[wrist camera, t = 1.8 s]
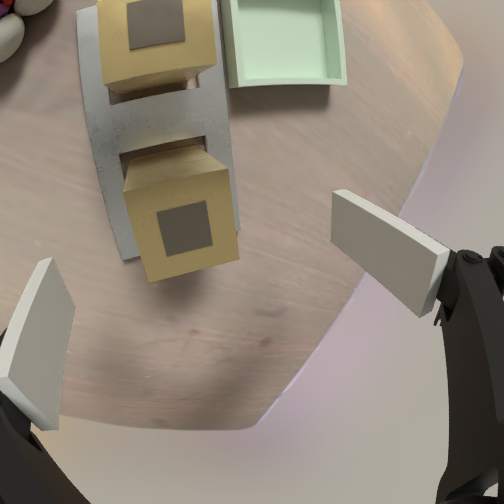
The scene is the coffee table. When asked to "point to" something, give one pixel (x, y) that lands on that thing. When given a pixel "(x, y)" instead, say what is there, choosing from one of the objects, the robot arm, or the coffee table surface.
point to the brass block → (180, 211)
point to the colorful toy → (16, 23)
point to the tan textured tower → (154, 42)
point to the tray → (283, 42)
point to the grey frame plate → (148, 123)
